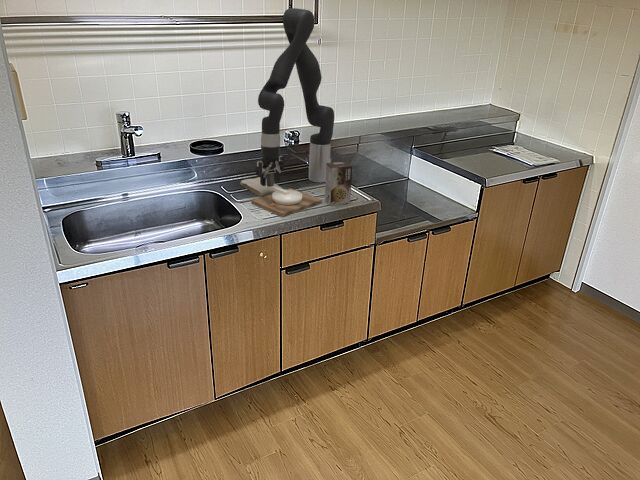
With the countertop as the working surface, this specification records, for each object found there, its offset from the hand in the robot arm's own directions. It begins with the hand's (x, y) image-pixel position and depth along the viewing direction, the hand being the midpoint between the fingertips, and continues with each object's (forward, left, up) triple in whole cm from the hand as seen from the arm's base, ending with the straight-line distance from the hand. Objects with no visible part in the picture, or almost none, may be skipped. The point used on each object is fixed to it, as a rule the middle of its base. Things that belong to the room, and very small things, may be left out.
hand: (270, 183), depth 213 cm
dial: (0, +7, -4) cm, 8 cm away
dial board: (0, +10, -6) cm, 12 cm away
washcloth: (-4, -10, -7) cm, 13 cm away
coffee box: (-17, +22, -6) cm, 28 cm away
